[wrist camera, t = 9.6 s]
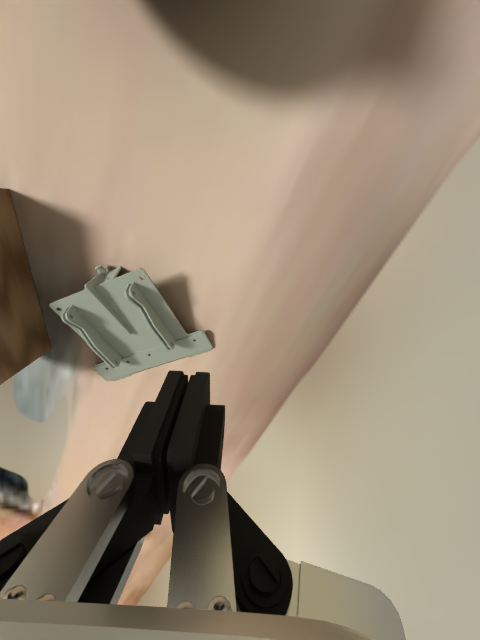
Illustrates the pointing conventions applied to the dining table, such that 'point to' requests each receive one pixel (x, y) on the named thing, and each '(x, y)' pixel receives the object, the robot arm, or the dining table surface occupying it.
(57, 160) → the dining table surface
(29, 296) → the block
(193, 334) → the metal bracket
